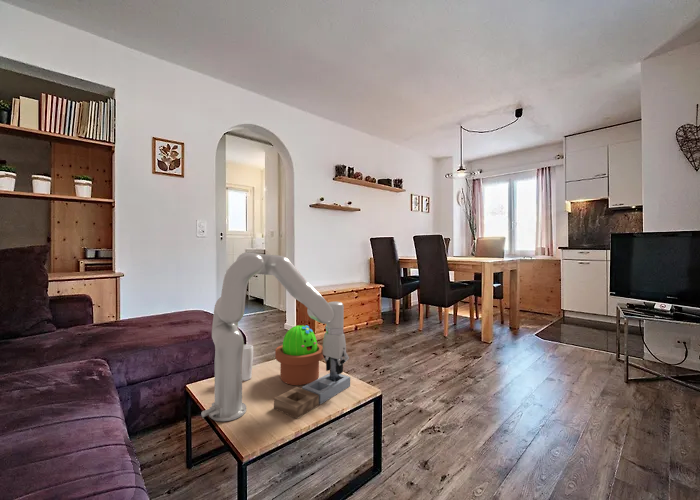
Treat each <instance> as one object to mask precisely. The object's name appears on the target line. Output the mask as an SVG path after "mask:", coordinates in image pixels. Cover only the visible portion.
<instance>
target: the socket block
mask: <svg viewBox="0 0 700 500" xmlns="http://www.w3.org/2000/svg"><path fill="white" fill-rule="evenodd" d="M319 405H320V404H319V395H317V394H315V393H312V392H309V391H307V390H304V389H302V387H298V386H295V387H293V388H291V389H289V390H288V391H285V392H283V393H281V394H279V395H277V396H275V397H273V409H274V410H276V411H278V412H281V413H283V414H286V415H287V416H289V417H292V418H293V419H296V420H297V419H298V418H300V417H302V416H304V415H305V414H307V413H309V412H310V411H311V410H313V409H316V407H318V406H319Z"/></svg>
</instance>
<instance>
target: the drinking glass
mask: <svg viewBox="0 0 700 500" xmlns="http://www.w3.org/2000/svg"><path fill="white" fill-rule="evenodd" d="M253 359H254V345H252V344H250V343H247V344H245V343H244V347H243V356H242V382H245V381H249V380H251V379H252V375H253V374H252V372H253V362H254V361H253Z"/></svg>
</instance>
